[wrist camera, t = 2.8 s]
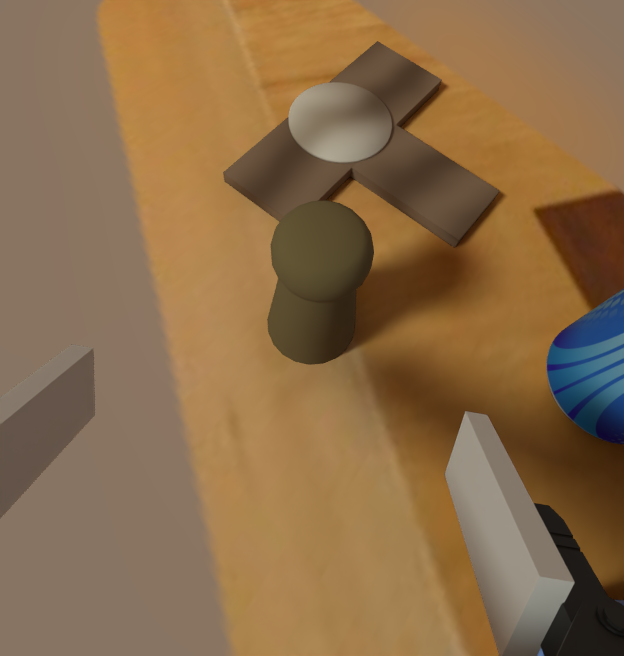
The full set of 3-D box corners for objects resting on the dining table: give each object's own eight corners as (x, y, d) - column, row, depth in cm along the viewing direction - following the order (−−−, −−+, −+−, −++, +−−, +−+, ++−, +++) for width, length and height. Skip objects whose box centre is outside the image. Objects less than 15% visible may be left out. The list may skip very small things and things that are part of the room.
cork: (323, 270, 34) (341, 162, 24) (371, 335, 32) (413, 251, 22) (251, 309, 32) (237, 213, 22) (297, 381, 30) (306, 312, 20)
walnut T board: (535, 148, 39) (543, 137, 38) (401, 311, 33) (406, 303, 32) (369, 47, 43) (371, 34, 42) (218, 176, 36) (215, 164, 35)
